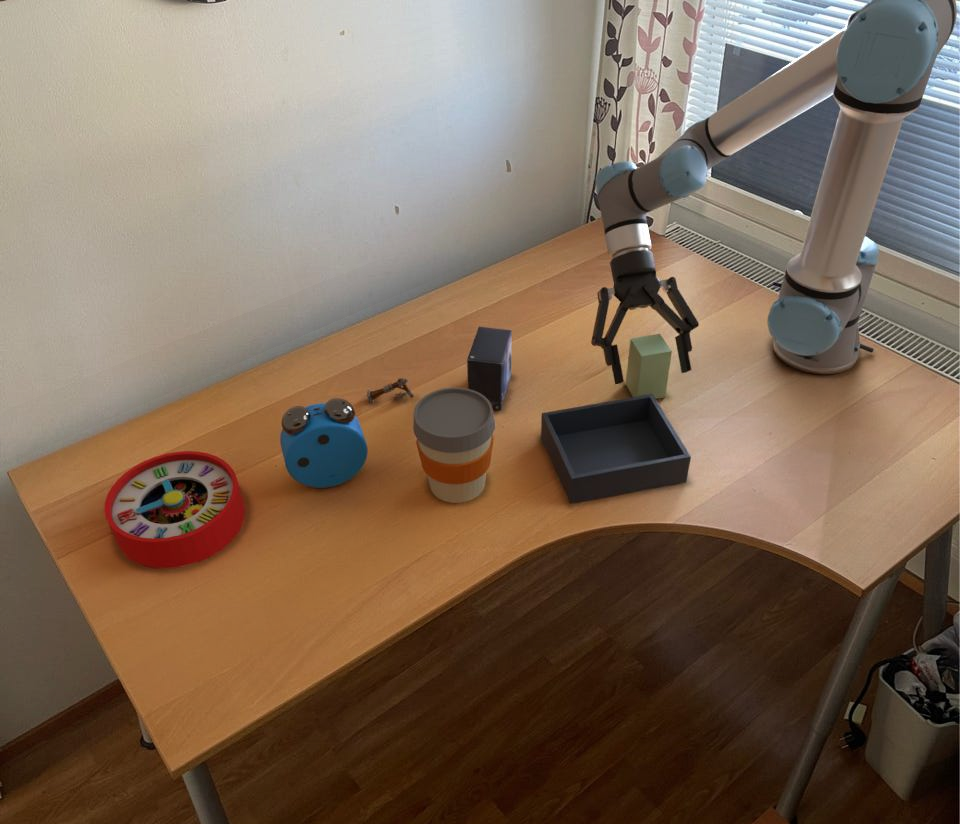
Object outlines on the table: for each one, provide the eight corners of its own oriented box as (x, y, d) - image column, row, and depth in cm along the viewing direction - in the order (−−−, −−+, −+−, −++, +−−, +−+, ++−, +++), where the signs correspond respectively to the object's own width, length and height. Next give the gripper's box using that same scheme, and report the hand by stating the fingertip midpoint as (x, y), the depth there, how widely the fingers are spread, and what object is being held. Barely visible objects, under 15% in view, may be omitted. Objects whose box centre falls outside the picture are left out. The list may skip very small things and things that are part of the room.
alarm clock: (365, 456, 152) (353, 385, 142) (372, 480, 148) (361, 408, 138) (287, 473, 150) (270, 402, 139) (293, 498, 146) (276, 427, 135)
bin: (649, 419, 157) (652, 393, 154) (686, 482, 146) (691, 456, 142) (540, 438, 155) (541, 412, 151) (570, 504, 143) (571, 478, 139)
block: (653, 379, 165) (660, 333, 158) (665, 397, 162) (672, 351, 155) (625, 384, 165) (630, 338, 158) (636, 402, 161) (641, 356, 154)
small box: (503, 412, 160) (502, 363, 152) (467, 408, 161) (464, 360, 154) (513, 376, 167) (513, 328, 160) (478, 373, 168) (477, 325, 161)
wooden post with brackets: (417, 397, 162) (405, 379, 159) (378, 413, 164) (366, 395, 161) (417, 391, 163) (405, 372, 160) (379, 406, 166) (366, 389, 163)
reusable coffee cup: (480, 518, 141) (477, 446, 131) (406, 500, 145) (398, 428, 134) (506, 467, 150) (505, 395, 139) (436, 451, 153) (430, 379, 142)
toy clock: (255, 509, 136) (122, 561, 129) (263, 536, 140) (134, 587, 133) (214, 435, 148) (91, 478, 142) (222, 462, 152) (103, 505, 146)
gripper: (687, 251, 163) (708, 369, 163) (559, 270, 160) (582, 391, 160) (703, 239, 156) (726, 362, 156) (570, 258, 152) (593, 385, 152)
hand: (653, 377), depth 158 cm, fingers open, 12 cm apart
